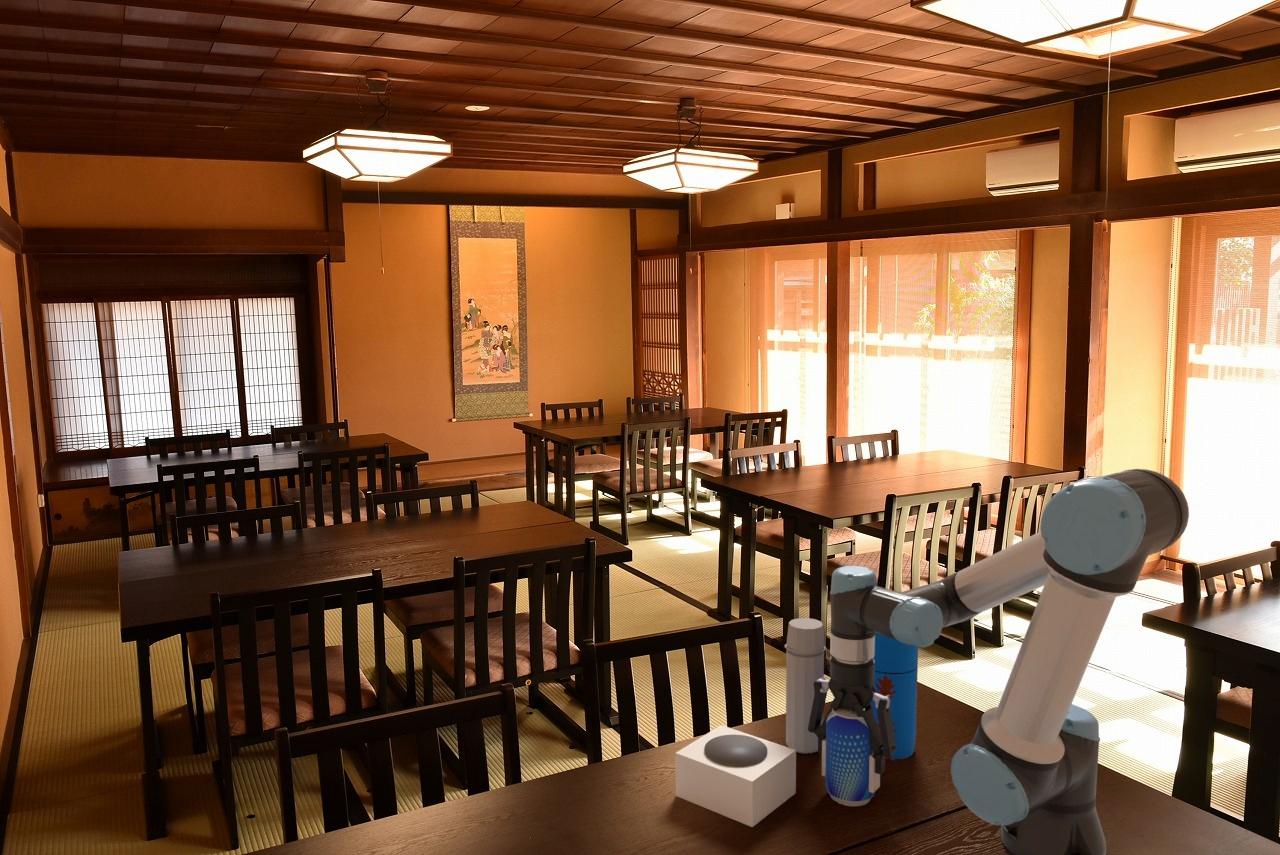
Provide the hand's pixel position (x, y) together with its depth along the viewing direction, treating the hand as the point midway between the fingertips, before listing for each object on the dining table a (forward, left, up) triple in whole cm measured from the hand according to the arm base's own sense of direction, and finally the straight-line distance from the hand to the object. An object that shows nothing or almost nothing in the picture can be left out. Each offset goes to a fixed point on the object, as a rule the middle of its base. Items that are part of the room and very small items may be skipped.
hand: (850, 780), depth 161 cm
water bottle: (+16, -12, -3) cm, 20 cm away
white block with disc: (+16, +12, -3) cm, 20 cm away
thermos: (+3, -21, -3) cm, 21 cm away
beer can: (0, 0, -3) cm, 3 cm away
